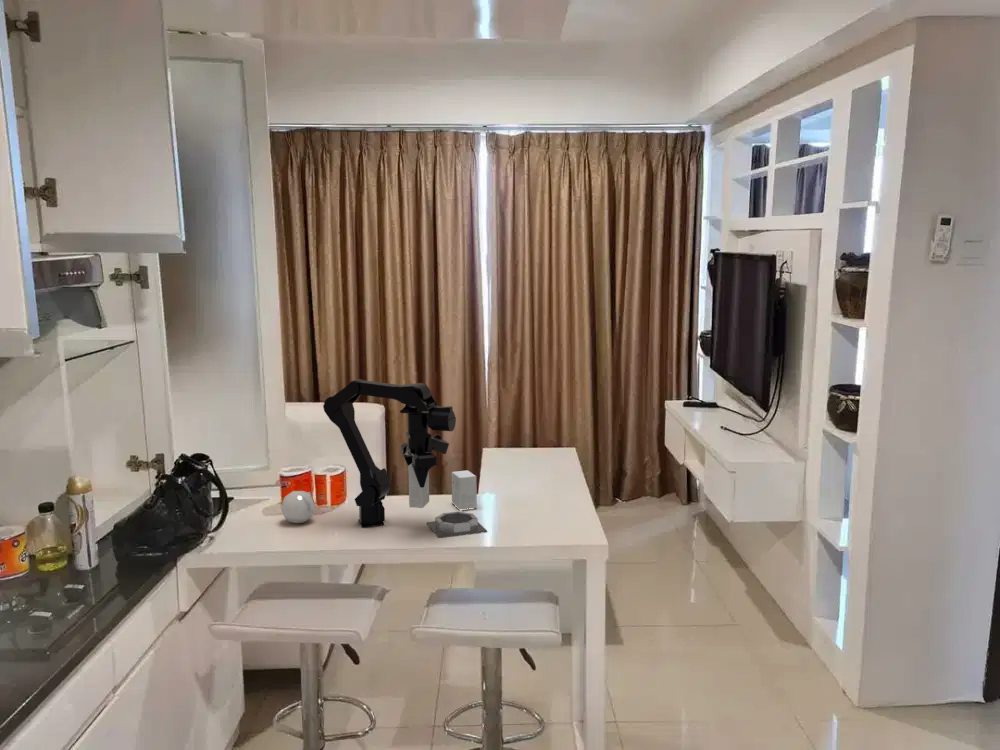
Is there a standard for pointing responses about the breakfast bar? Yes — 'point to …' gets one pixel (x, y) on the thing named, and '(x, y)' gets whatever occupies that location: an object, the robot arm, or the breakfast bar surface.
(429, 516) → the breakfast bar surface
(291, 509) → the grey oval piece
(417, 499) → the skincare box
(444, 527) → the grey octagonal ring base
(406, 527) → the breakfast bar surface
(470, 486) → the small box
